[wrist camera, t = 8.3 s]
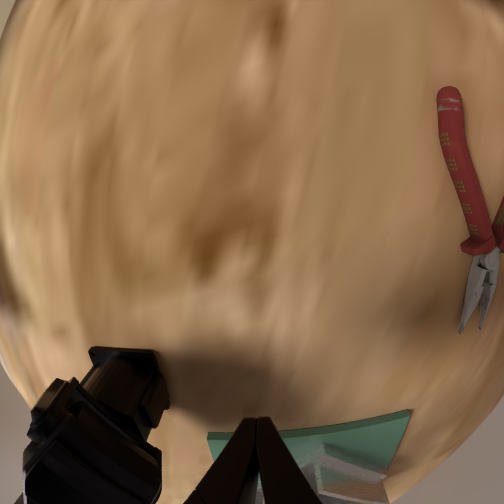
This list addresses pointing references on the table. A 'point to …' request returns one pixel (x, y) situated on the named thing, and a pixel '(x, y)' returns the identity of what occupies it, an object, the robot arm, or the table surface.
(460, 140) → the pliers
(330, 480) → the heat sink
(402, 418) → the green square mat
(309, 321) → the table surface
